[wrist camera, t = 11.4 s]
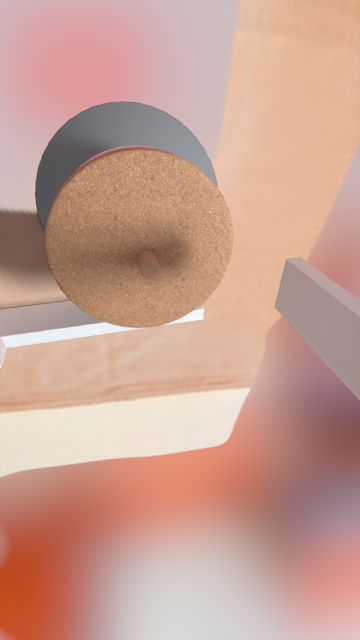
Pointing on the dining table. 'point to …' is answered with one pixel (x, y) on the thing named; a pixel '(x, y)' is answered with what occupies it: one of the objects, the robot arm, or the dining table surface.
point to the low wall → (59, 323)
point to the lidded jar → (138, 237)
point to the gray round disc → (111, 144)
